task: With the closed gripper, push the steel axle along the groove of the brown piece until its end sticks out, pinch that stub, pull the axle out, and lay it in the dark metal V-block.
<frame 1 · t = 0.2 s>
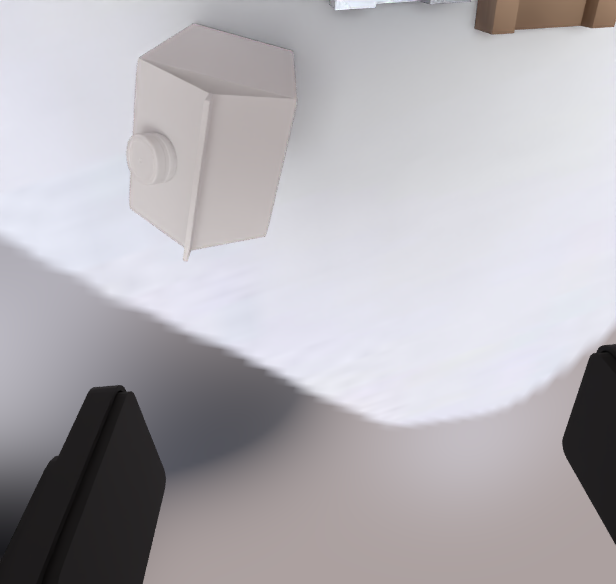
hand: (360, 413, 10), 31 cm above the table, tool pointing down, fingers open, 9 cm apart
milk carton: (236, 88, 36), on the table
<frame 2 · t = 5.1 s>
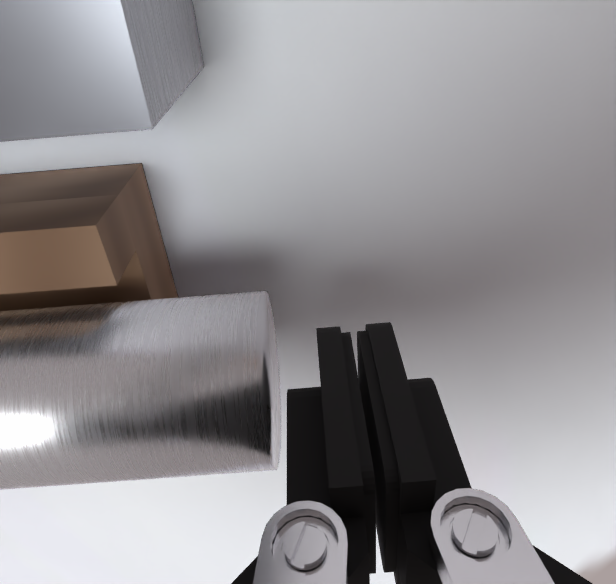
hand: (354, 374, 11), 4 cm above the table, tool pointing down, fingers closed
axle: (12, 343, 13), point 2 cm above the table, touching brown piece, gripper
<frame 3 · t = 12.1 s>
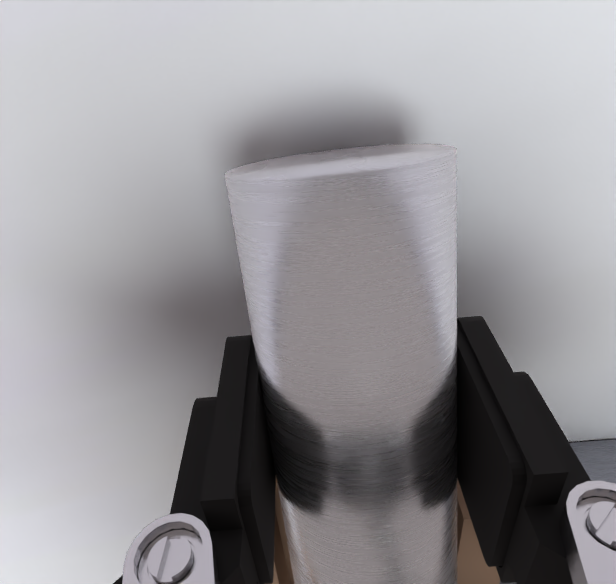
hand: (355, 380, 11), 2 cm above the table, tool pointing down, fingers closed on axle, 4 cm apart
brown piece: (355, 539, 19), on the table
v block: (597, 547, 20), on the table
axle: (354, 421, 13), point 2 cm above the table, tilted 13°, touching gripper
when the fingers open (6 cm above the table, at t = 18.6 s): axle stays where it is, resting on v block.
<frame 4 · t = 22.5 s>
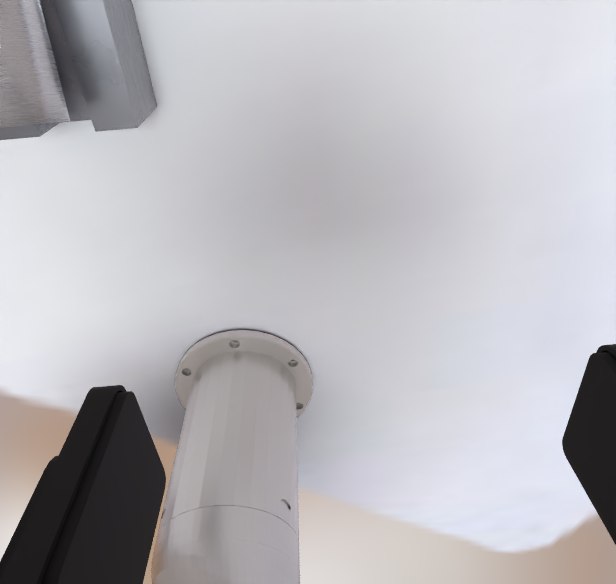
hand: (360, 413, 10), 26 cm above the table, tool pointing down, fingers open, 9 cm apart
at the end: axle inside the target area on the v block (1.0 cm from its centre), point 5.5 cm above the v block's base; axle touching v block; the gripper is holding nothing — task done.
